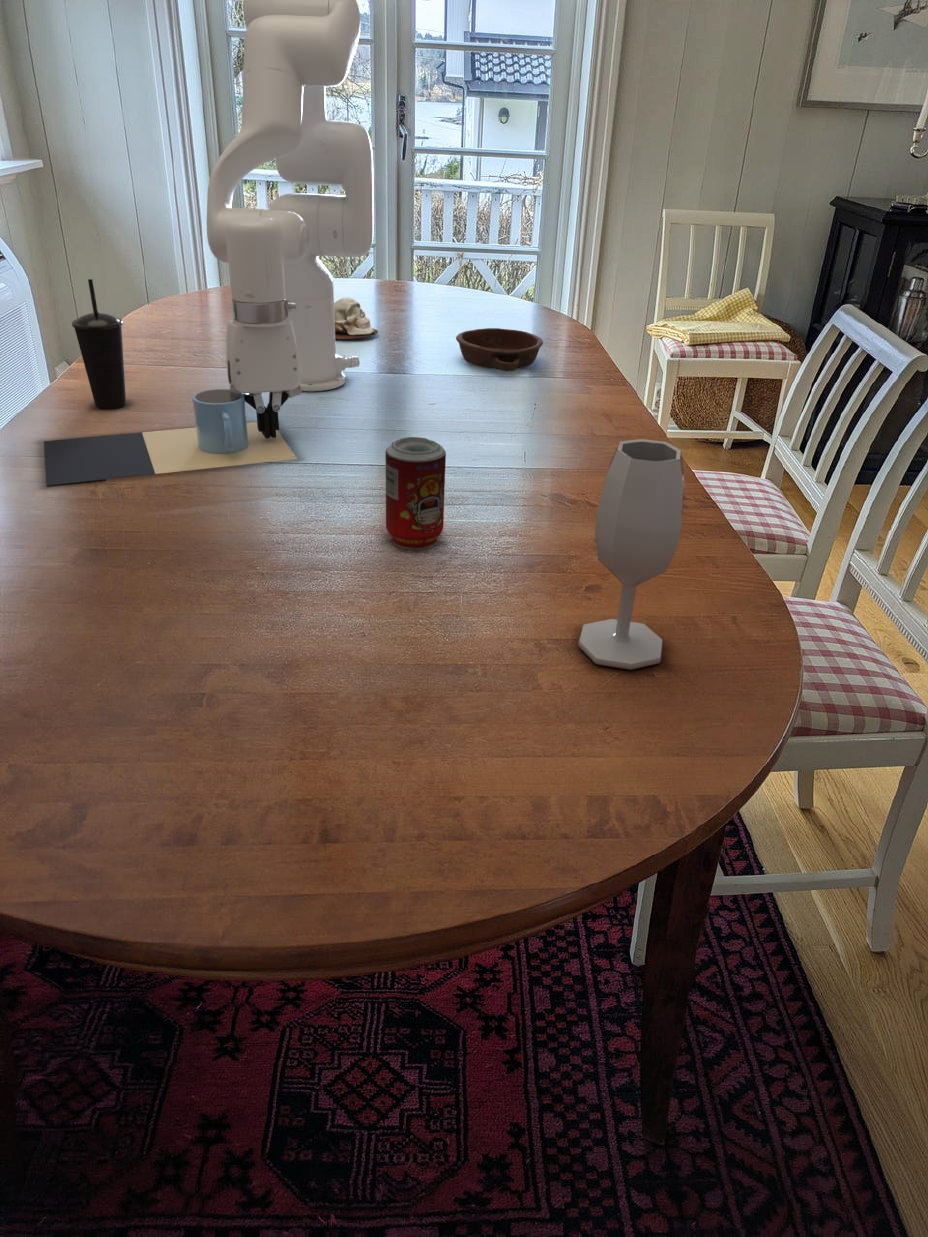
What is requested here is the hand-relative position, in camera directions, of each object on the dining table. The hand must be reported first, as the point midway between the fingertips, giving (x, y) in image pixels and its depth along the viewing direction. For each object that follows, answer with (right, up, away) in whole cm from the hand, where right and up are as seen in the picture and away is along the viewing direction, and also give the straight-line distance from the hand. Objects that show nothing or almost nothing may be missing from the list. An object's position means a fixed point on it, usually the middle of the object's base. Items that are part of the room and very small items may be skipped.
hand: (268, 434), depth 139 cm
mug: (-6, -3, -3) cm, 7 cm away
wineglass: (+46, -31, -47) cm, 73 cm away
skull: (+5, +34, +60) cm, 69 cm away
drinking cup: (-29, +7, +13) cm, 33 cm away
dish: (+37, +23, +45) cm, 62 cm away
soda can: (+24, -19, -27) cm, 41 cm away
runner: (-14, -3, -4) cm, 15 cm away
